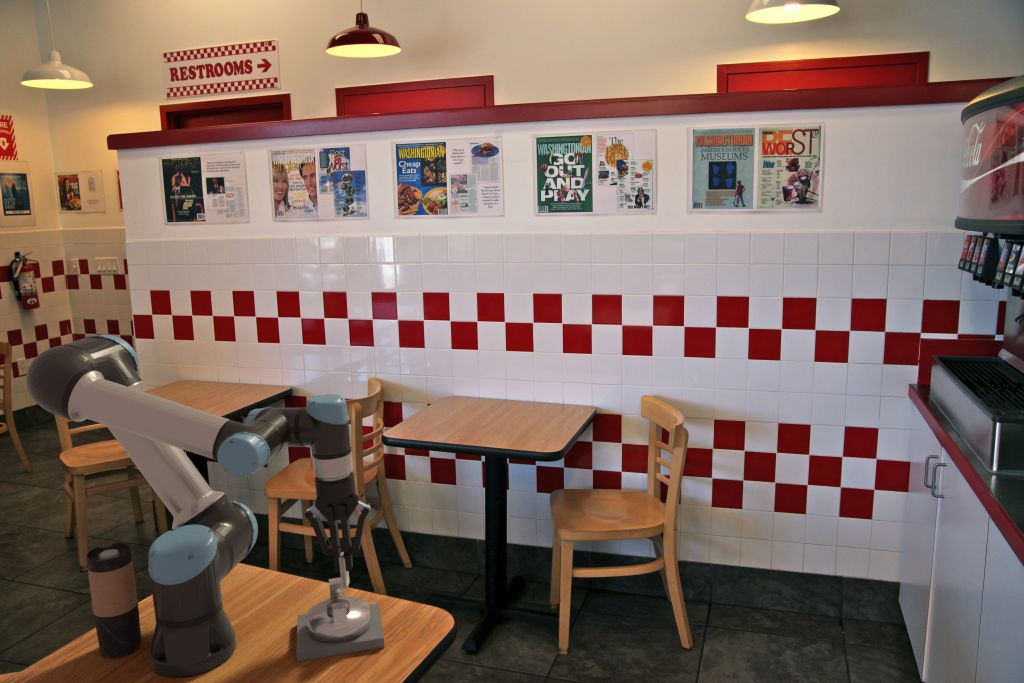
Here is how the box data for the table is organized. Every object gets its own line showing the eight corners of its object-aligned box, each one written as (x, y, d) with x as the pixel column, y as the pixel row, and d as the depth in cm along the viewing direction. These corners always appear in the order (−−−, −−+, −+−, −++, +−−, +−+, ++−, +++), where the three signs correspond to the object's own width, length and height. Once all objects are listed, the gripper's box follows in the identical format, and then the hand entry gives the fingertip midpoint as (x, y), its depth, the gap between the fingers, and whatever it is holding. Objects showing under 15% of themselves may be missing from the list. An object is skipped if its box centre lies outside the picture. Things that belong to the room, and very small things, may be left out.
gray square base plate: (297, 661, 146) (296, 648, 145) (298, 624, 158) (297, 612, 157) (384, 647, 149) (383, 635, 149) (379, 612, 162) (378, 600, 161)
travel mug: (125, 661, 147) (112, 562, 143) (89, 657, 148) (75, 559, 144) (151, 638, 154) (139, 543, 150) (117, 635, 156) (104, 540, 152)
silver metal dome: (330, 650, 145) (328, 616, 144) (295, 626, 153) (293, 594, 152) (383, 623, 153) (381, 591, 152) (347, 602, 161) (345, 572, 160)
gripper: (369, 465, 157) (379, 574, 162) (306, 469, 157) (318, 578, 161) (363, 479, 149) (374, 592, 154) (297, 483, 149) (310, 597, 154)
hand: (345, 585), depth 158 cm, fingers closed
